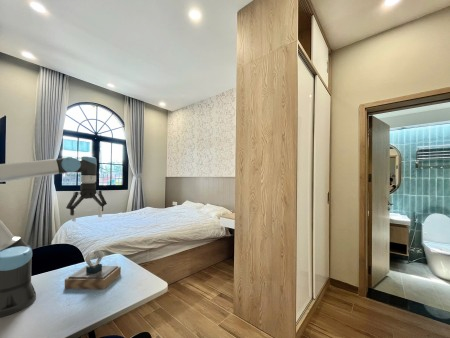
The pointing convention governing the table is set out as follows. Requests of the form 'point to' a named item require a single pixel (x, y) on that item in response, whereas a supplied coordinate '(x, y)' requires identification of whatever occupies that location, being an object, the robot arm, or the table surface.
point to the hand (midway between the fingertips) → (87, 218)
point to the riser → (93, 278)
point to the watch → (95, 266)
